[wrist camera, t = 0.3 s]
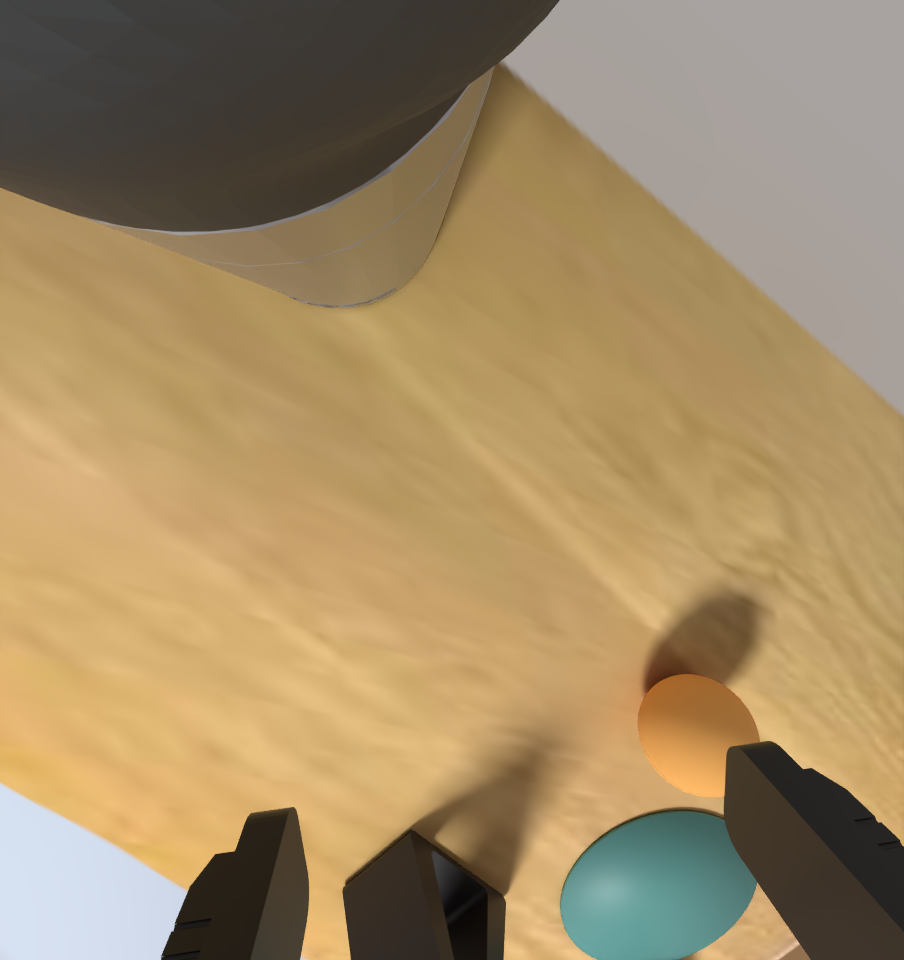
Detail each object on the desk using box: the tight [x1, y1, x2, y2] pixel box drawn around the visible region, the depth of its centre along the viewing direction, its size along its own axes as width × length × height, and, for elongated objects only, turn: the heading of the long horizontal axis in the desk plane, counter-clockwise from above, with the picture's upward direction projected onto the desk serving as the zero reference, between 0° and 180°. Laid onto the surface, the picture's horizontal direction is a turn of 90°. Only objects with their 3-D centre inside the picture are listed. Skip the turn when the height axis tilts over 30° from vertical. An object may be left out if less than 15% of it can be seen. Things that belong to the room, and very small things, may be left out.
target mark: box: [560, 811, 757, 960], centre depth 35 cm, size 14×14×1 cm
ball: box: [638, 674, 760, 797], centre depth 28 cm, size 6×6×6 cm
